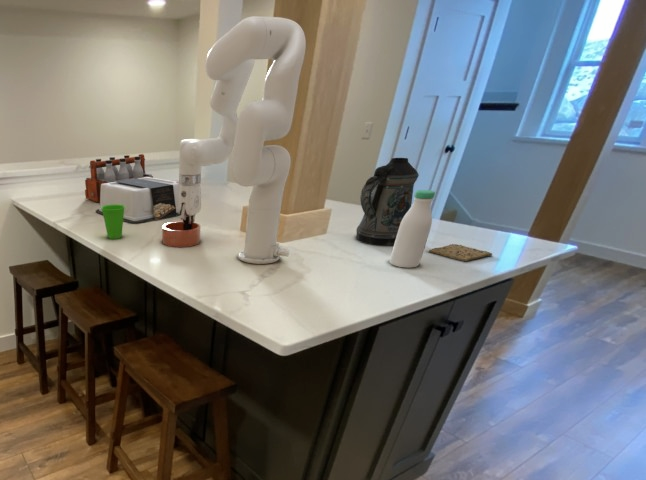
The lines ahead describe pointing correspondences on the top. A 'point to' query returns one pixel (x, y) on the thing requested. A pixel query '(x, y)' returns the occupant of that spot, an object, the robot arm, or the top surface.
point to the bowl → (180, 234)
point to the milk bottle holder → (113, 173)
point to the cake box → (142, 198)
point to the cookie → (460, 252)
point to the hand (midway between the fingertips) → (188, 233)
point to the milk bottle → (413, 231)
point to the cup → (113, 220)
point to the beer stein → (386, 202)
